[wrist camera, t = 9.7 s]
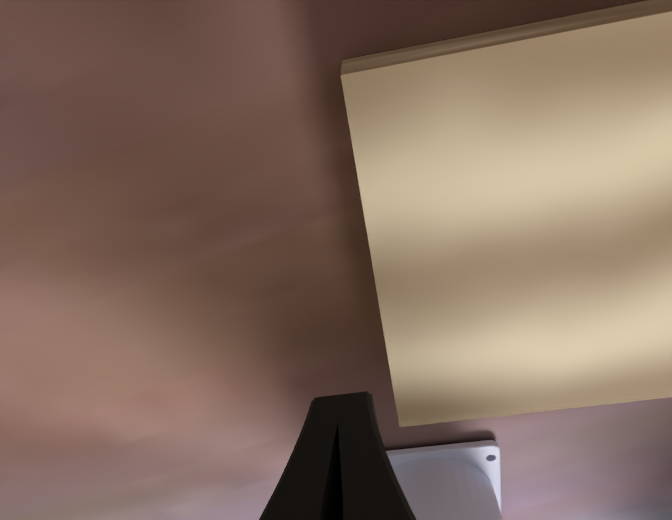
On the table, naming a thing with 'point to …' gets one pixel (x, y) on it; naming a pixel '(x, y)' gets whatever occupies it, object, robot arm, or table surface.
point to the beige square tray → (521, 213)
